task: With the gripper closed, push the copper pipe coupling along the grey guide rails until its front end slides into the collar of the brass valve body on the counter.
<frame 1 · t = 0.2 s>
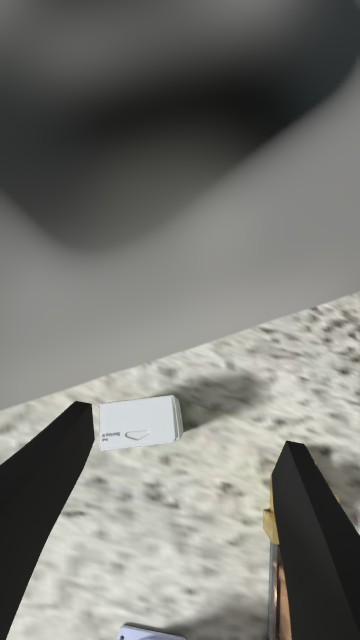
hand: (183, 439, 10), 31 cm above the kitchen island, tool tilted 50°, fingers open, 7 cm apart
ink box: (152, 419, 41), on the kitchen island
coupling: (292, 602, 33), on the kitchen island
rails: (292, 586, 34), on the kitchen island
valve: (293, 497, 37), on the kitchen island
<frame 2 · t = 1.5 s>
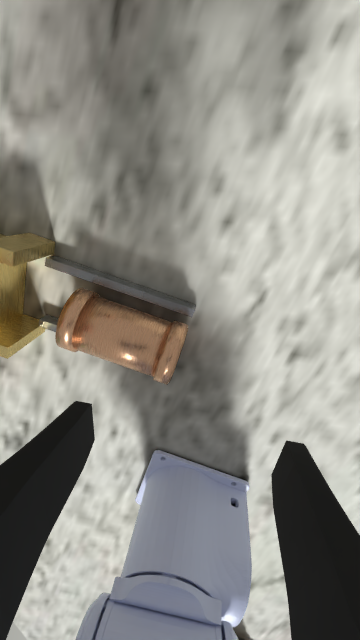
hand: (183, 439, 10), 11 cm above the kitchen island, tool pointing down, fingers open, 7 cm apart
coupling: (135, 319, 22), on the kitchen island, tilted 9°
rails: (116, 313, 22), on the kitchen island
valve: (1, 272, 22), on the kitchen island
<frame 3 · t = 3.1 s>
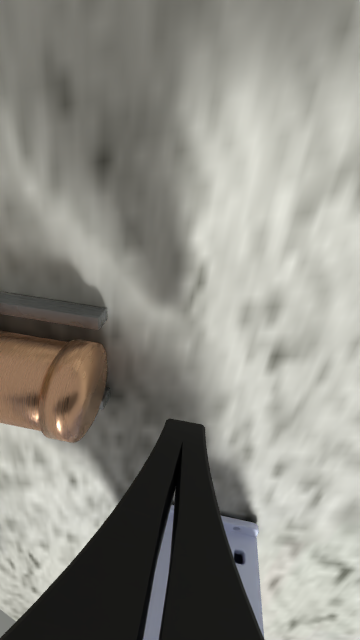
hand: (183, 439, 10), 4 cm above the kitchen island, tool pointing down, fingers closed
coupling: (35, 344, 15), on the kitchen island, tilted 9°
rails: (9, 339, 15), on the kitchen island
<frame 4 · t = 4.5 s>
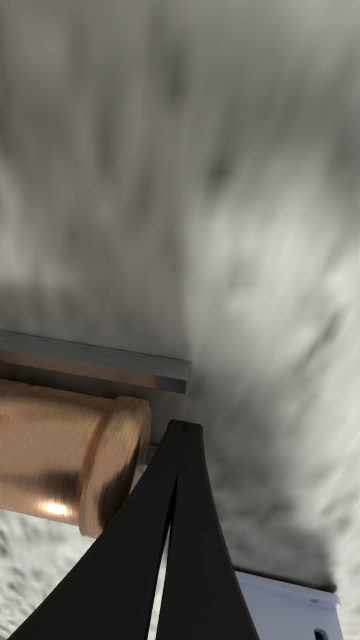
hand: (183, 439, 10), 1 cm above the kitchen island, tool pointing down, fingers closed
coupling: (60, 393, 12), on the kitchen island, tilted 9°, touching gripper
rails: (55, 392, 12), on the kitchen island
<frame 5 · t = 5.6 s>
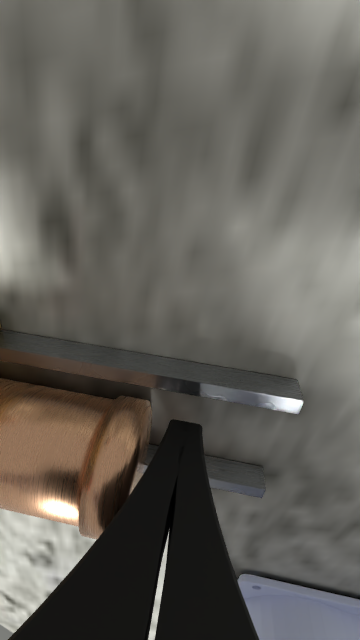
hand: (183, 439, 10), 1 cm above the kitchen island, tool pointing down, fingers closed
coupling: (60, 393, 12), on the kitchen island, tilted 9°, touching gripper, rails, valve
rails: (141, 408, 12), on the kitchen island
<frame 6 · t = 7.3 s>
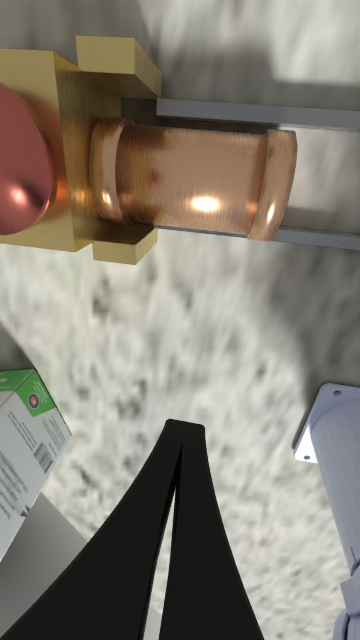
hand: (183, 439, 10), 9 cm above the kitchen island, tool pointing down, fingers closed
ink box: (35, 404, 26), on the kitchen island
coupling: (197, 172, 14), on the kitchen island, tilted 9°, touching rails
rails: (265, 178, 14), on the kitchen island
valve: (86, 162, 15), on the kitchen island
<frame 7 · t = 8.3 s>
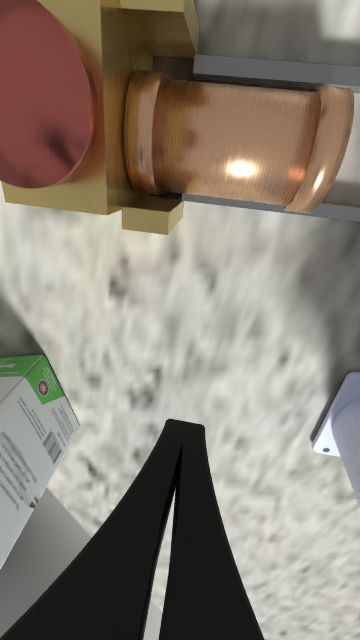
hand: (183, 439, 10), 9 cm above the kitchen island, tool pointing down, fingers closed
ink box: (42, 392, 25), on the kitchen island
coupling: (231, 140, 14), on the kitchen island, tilted 9°, touching rails
rails: (304, 148, 13), on the kitchen island
valve: (111, 129, 14), on the kitchen island
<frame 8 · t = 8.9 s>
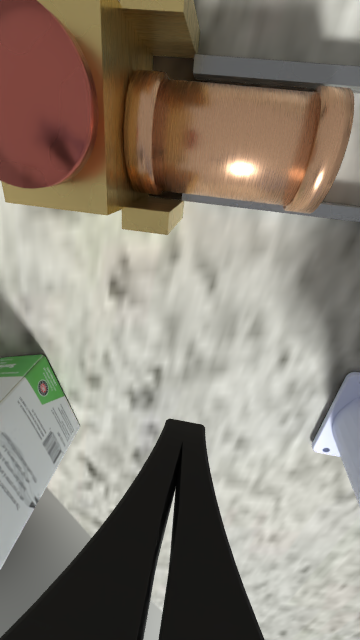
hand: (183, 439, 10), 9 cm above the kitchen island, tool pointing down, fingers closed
ink box: (42, 392, 25), on the kitchen island
coupling: (231, 140, 14), on the kitchen island, tilted 9°, touching rails
rails: (304, 148, 13), on the kitchen island
valve: (111, 129, 14), on the kitchen island
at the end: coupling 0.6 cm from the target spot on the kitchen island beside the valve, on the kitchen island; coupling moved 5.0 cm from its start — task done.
